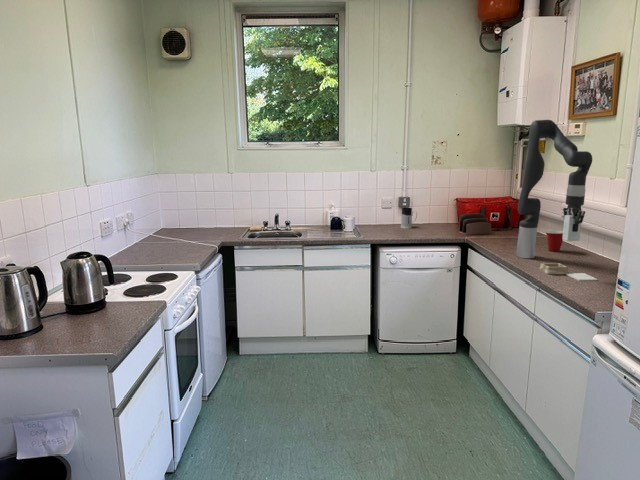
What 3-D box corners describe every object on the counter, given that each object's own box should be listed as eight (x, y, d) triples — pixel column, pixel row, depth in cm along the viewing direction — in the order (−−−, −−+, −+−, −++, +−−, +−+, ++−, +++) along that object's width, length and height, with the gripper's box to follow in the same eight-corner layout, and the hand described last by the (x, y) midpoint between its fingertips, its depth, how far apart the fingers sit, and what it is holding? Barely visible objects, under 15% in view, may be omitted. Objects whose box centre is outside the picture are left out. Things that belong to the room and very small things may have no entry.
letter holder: (458, 232, 320) (459, 213, 317) (482, 231, 325) (484, 212, 322) (466, 235, 311) (467, 215, 308) (490, 234, 315) (492, 214, 312)
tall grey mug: (405, 225, 348) (406, 207, 345) (419, 228, 338) (420, 208, 335) (398, 227, 343) (398, 208, 340) (412, 229, 332) (413, 210, 329)
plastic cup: (552, 248, 270) (554, 228, 268) (568, 251, 260) (570, 231, 258) (539, 249, 266) (541, 230, 264) (554, 253, 257) (556, 233, 254)
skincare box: (573, 239, 213) (576, 214, 211) (579, 241, 208) (582, 215, 206) (561, 239, 212) (564, 214, 210) (567, 241, 208) (569, 216, 206)
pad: (565, 274, 214) (566, 273, 214) (583, 274, 215) (583, 273, 215) (578, 280, 205) (578, 279, 205) (597, 280, 205) (597, 279, 205)
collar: (539, 270, 223) (540, 263, 222) (558, 269, 223) (558, 263, 222) (547, 274, 215) (548, 267, 215) (567, 273, 216) (567, 267, 215)
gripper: (559, 193, 213) (555, 228, 216) (576, 196, 199) (572, 233, 202) (574, 193, 213) (570, 228, 217) (593, 196, 199) (588, 233, 203)
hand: (571, 230), depth 209 cm, fingers closed on skincare box, 4 cm apart
